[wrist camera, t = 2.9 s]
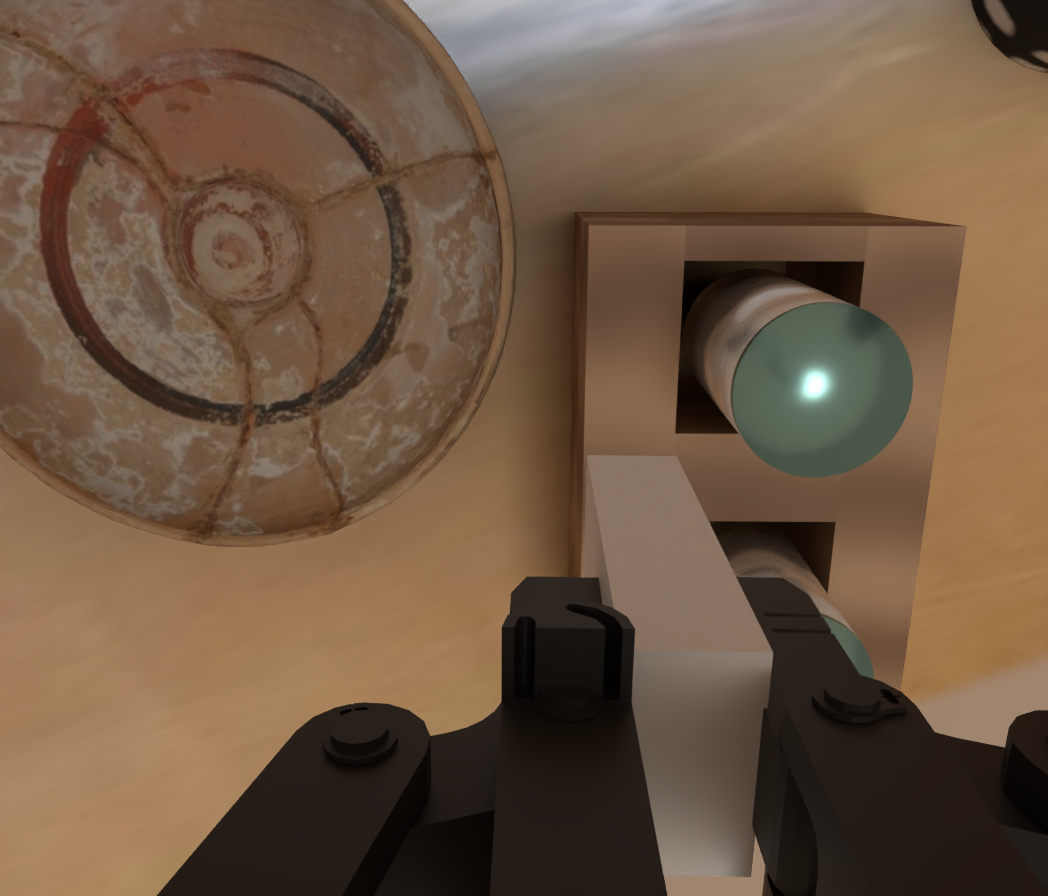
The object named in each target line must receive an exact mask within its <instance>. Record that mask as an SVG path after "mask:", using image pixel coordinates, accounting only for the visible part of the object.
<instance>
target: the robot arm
mask: <svg viewBox="0 0 1048 896" xmlns="http://www.w3.org/2000/svg"><path fill="white" fill-rule="evenodd" d="M755 835H756V838H757V841H758V845H759V847H760V851H761V854H762V856H763V860H764V863H765V875H764V885H763V894H762V896H1048V710H1044V711H1040V710H1038V711H1033V712H1029V713H1026V714H1023V715H1020V716H1017V717H1016V719H1015V720H1014V721H1013V723H1012V724H1011V725H1010V727H1009V730H1008V736H1007V741H1006V746H1005V748H1004V747H999V746H994V745H989V744H984V743H979V742H974V741H969V740H964V739H959V738H955V737H951V736H947V735H943V734H939V733H935V732H934V731H933V729H932V727H931V726H930V725H929V723H928V722H927V720H926V719H925V718H924V716H923V715H922V713H921V712H920V710H919V709H918V708H917V706H916V705H915V704H914V703H913V702H912V701H911V700H910V699H908V698H907V697H906V696H905V695H904V694H903V693H902V692H900V691H899V690H897V689H895V688H893V687H891V686H889V685H887V684H885V683H884V682H882V681H879V680H876V679H873V678H869V677H866V676H863V675H860V674H859V672H858V671H857V669H856V668H855V666H854V664H853V663H852V661H851V660H850V658H849V657H848V655H847V654H846V652H845V650H844V649H843V647H842V646H841V644H840V643H839V641H838V640H837V638H836V636H835V635H834V634H831V629H830V627H829V626H828V624H827V622H826V621H825V619H824V618H821V613H820V612H819V610H818V608H817V607H816V605H815V604H814V602H813V601H812V599H811V598H810V596H809V594H807V593H805V592H804V591H802V590H801V589H799V588H798V587H796V586H795V585H793V584H792V583H790V582H789V581H787V580H786V579H784V578H776V577H736V576H735V574H734V572H733V570H732V568H731V566H730V564H729V562H728V560H727V558H726V556H725V553H724V551H723V549H722V547H721V545H720V543H719V541H718V539H717V537H716V535H715V533H714V531H713V529H712V527H711V525H710V523H709V521H708V519H707V517H706V515H705V513H704V511H703V509H702V507H701V505H700V503H699V501H698V499H697V497H696V494H695V492H694V490H693V488H692V486H691V484H690V482H689V480H688V478H687V476H686V474H685V472H684V470H683V468H682V466H681V464H680V462H679V460H678V458H677V456H621V455H587V469H586V502H585V534H584V566H583V577H526V578H525V579H524V580H523V581H522V582H521V583H520V584H519V585H518V586H517V587H516V588H515V590H514V591H513V592H512V593H511V605H510V614H509V615H508V616H507V618H506V620H505V622H504V624H503V626H502V702H501V704H500V705H499V706H498V707H497V709H496V710H495V711H494V712H493V713H492V714H490V715H489V716H488V717H486V718H485V719H484V720H482V721H480V722H478V723H476V724H474V725H471V726H469V727H467V728H464V729H460V730H456V731H453V732H449V733H444V734H439V735H434V736H430V734H429V732H428V730H427V727H426V725H425V723H424V721H423V720H421V719H420V718H419V717H417V716H416V715H415V714H413V713H412V712H411V711H409V710H406V709H403V708H400V707H396V706H393V705H390V704H380V703H354V704H352V705H351V704H349V705H345V706H340V707H336V708H334V709H331V710H329V711H326V712H324V713H322V714H319V715H317V716H315V717H313V718H312V719H310V720H309V721H308V722H307V723H305V724H304V725H303V726H302V727H300V728H299V729H298V730H297V731H296V732H295V733H294V734H293V735H292V737H291V738H290V739H289V740H288V741H287V742H286V744H285V745H284V746H283V747H282V748H281V750H280V751H279V752H278V753H277V754H276V755H275V757H274V758H273V759H272V760H271V761H270V763H269V764H268V765H267V766H266V767H265V768H264V770H263V771H262V772H261V773H260V774H259V776H258V777H257V778H256V779H255V780H254V781H253V783H252V784H251V785H250V786H249V787H248V789H247V790H246V791H245V792H244V793H243V794H242V796H241V797H240V798H239V799H238V800H237V802H236V803H235V804H234V805H233V806H232V807H231V809H230V810H229V811H228V812H227V813H226V815H225V816H224V817H223V818H222V819H221V820H220V822H219V823H218V824H217V825H216V826H215V828H214V829H213V830H212V831H211V832H210V833H209V835H208V836H207V837H206V838H205V839H204V841H203V842H202V843H201V844H200V845H199V846H198V848H197V849H196V850H195V851H194V852H193V854H192V855H191V856H190V857H189V858H188V859H187V861H186V862H185V863H184V864H183V865H182V867H181V868H180V869H179V870H178V871H177V872H176V874H175V875H174V876H173V877H172V878H171V880H170V881H169V882H168V883H167V884H166V885H165V887H164V888H163V889H162V890H161V891H160V893H159V894H158V895H157V896H667V891H666V886H665V880H664V875H669V876H670V875H671V876H723V877H726V876H727V877H751V871H752V861H753V851H754V841H755Z"/></svg>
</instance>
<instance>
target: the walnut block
mask: <svg viewBox="0 0 1048 896" xmlns="http://www.w3.org/2000/svg"><path fill="white" fill-rule="evenodd" d="M965 233H966V226H959V225H952V224H944V223H937V222H930V221H922V220H915V219H908V218H900V217H893V216H886V215H878V214H871V213H717V212H576V225H575V279H574V333H573V388H572V442H571V496H570V551H569V577H583V566H584V534H585V502H586V469H587V455H621V456H677V458H678V460H679V462H680V464H681V466H682V468H683V470H684V472H685V474H686V476H687V478H688V480H689V482H690V484H691V486H692V488H693V490H694V492H695V494H696V497H697V499H698V501H699V503H700V505H701V507H702V509H703V511H704V513H705V515H706V517H707V519H708V521H769V522H775V523H776V524H778V525H779V526H780V527H781V528H782V530H783V531H784V532H785V533H786V535H787V536H788V538H789V539H790V541H791V542H792V543H793V545H794V546H795V548H796V549H797V551H798V552H799V554H800V555H801V556H802V558H803V559H804V561H805V562H806V564H807V565H808V566H809V568H810V569H811V571H812V572H813V574H814V575H815V577H816V578H817V579H818V581H819V582H820V584H821V585H822V587H823V588H824V590H825V591H826V592H827V594H828V595H829V597H830V598H831V600H832V601H833V602H834V604H835V605H836V607H837V608H838V610H839V611H840V613H841V614H842V615H843V617H844V618H845V620H846V621H847V623H848V624H849V626H850V627H851V628H852V630H853V631H854V633H855V634H856V636H857V637H858V639H859V640H860V641H861V643H862V644H863V646H864V648H865V649H866V651H867V653H868V655H869V657H870V660H871V663H872V667H873V673H874V679H876V680H879V681H882V682H884V683H885V684H887V685H889V686H891V687H893V688H895V689H897V690H899V691H900V690H901V683H902V676H903V669H904V662H905V655H906V648H907V641H908V634H909V627H910V620H911V613H912V606H913V599H914V592H915V585H916V578H917V570H918V563H919V556H920V549H921V542H922V535H923V528H924V521H925V514H926V507H927V500H928V493H929V486H930V479H931V472H932V465H933V458H934V451H935V444H936V437H937V430H938V423H939V416H940V409H941V402H942V395H943V388H944V381H945V374H946V367H947V360H948V353H949V346H950V339H951V332H952V325H953V318H954V310H955V303H956V296H957V289H958V282H959V275H960V268H961V261H962V254H963V247H964V240H965ZM684 261H787V269H786V276H787V277H789V278H792V279H794V280H796V281H799V282H801V283H803V284H806V285H808V286H810V287H813V288H815V289H817V290H820V291H822V292H824V293H827V294H829V295H831V296H834V297H836V298H838V299H841V300H843V301H845V302H848V303H850V304H852V305H855V306H857V307H859V308H862V309H864V310H866V311H868V312H870V313H872V314H874V315H876V316H877V317H879V318H880V319H882V320H883V321H884V322H886V323H887V324H888V325H889V326H890V327H891V328H892V329H893V330H894V331H895V333H896V334H897V335H898V337H899V338H900V339H901V341H902V343H903V345H904V346H905V348H906V350H907V353H908V356H909V359H910V362H911V367H912V373H913V391H912V398H911V403H910V407H909V409H908V412H907V415H906V418H905V420H904V422H903V424H902V426H901V427H900V429H899V431H898V432H897V434H896V435H895V437H894V438H893V439H892V440H891V442H890V443H889V444H888V445H887V446H886V447H885V448H884V449H883V450H882V451H881V452H880V453H879V454H877V455H876V456H875V457H873V458H872V459H871V460H869V461H868V462H866V463H864V464H863V465H861V466H859V467H857V468H855V469H853V470H850V471H848V472H845V473H842V474H838V475H834V476H828V477H816V478H812V477H801V476H796V475H791V474H788V473H785V472H782V471H780V470H778V469H776V468H774V467H772V466H770V465H769V464H767V463H766V462H764V461H763V460H762V459H760V458H759V457H758V456H757V455H756V454H755V453H754V452H753V451H752V450H751V448H750V447H749V446H748V445H747V444H746V442H745V441H744V440H743V438H742V437H741V436H740V435H739V433H738V432H737V431H736V429H735V428H734V427H733V426H732V424H731V423H730V422H729V420H728V419H727V418H726V417H725V415H724V414H723V413H722V411H721V410H720V409H719V408H718V406H717V405H716V404H715V402H714V401H713V400H712V399H711V397H710V396H709V395H708V393H707V392H706V391H705V390H704V388H703V387H702V386H701V384H700V383H699V382H698V381H697V379H696V378H695V377H694V376H678V370H679V351H680V333H681V314H682V295H683V277H684Z"/></svg>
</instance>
